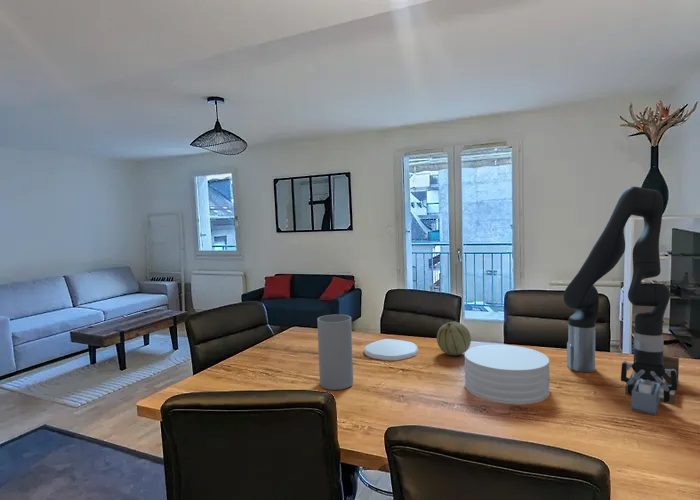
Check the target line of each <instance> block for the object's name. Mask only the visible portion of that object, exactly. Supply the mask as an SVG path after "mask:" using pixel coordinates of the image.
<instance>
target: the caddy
mask: <svg viewBox="0 0 700 500" xmlns="http://www.w3.org/2000/svg"><path fill="white" fill-rule="evenodd" d="M660 402H661V401H660V384H659V383H654V381H650V380H643V379H641V380H638V379H637V381H636V384H635V386H634V388H633V390H632V396H631V411H633V412H637V413H641V414H646V415H650V416H653V417H654V416H655V417H656V415H657V412H658V409H659V406H660Z"/></svg>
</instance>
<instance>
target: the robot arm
mask: <svg viewBox="0 0 700 500" xmlns="http://www.w3.org/2000/svg"><path fill="white" fill-rule="evenodd" d="M663 209H664V198H663V195H662V193H661V192H660V191H659V190H655V189H651V188H646V187H645V188H644V187H640V186H629V187H627V188H626V189H625V190H624V191H623V192H622V194H621V195H620V197H619V198H618V200H617V202H616V205H615V207H614V208H613V212H612V213H611V215H610V217H609V220H608V222H607V223H606V226H605V227H604V229H603V231H602V232H601V234H600V236H599V237H598V239H597V240H596V242H595V244H594V246H593V247H592V249H591V251H590V252H589V254H588V256H587V257H586V260H585V261H584V262H583V264H582V266H581V267H580V269H579V270H578V272H577V273H576V275H575V276H574V277H573V279H572V280H571V281H570V283H569V284H568V285H567V286H566V288H565V290H564V293H563V301H564V304H565V305H566V307H568V308H570V309H576V310H575V312H573V314H570V316H569V318H568V321H567V322H568V335H567V336H568V341H567V342H566V365H567V368H569V370H570V371H576V372H579V373H592V372H595V370H596V323H597V321H598V319H599V318H598V317H599V306H600V305H599V304H600V296H599V292H598V289H597V288H596V287H595V284H596V282H598V281H599V280H600V279H601V278H603V277H604V276H606V275H607V274H608V273H609V272H611V271H612V270H614V268H615V267H616V265H617V264H618V263H619V262H620V259H621V258H622V257H623V255H624V253H625V251H626V239H625V227H626V224H627V223H628V220H629V219H630V218H631V216H636V217H641V218H643V231H642V233H641V234H640V236H639V237H638V239H637V240H636V242H635V244H634V246H633V249H632V278H631V282H630V285H629V288H628V291H627V298H628V301H629V303H630V304H632V305H633V306H638V307H654V308H653V309H652V310H650V311H647V312H640V313H637V314H636V315H635V316H634V334H633V335H634V336H633V363H631V362H627V361H622V364H621V369H620V381H621V382H623V383H627V384H628V394H627V395H629V394H630V395H629V396H630V397H632V390H633V388H634V383H633V382H634V381H636V380H637V379H638V378H639V377H640V378H641V379H643V380H650V381H657V382H658V383H659V384H660V385H661V386H662V387H663V388H664V402H663V403H665V404H667V403H668V402H667V401H669V399H670V391H671V390H674V391H675V390H677V391H678V387H677V374H676V369H665V368H664V366H663V356H664V337H663V336H664V335H662V334H664V332H663V331H664V330H663V325H664V324H663V321H664V315H665V314H666V310H667V307H668V306H669V302H670V299H671V291H670V288H669V287H668V286H667V285H666V284H664V283H655V282H654V283H653V282H651V283H650V282H648V283H647V282H642V281H643V280H646V279H650V278H656V277H658V276H660V274H661V258H660V238H661V237H660V236H661V235H660V234H661V227H662V221H663V211H664V210H663ZM630 368H631V369H633V370H634V371H635V372H636V373H635V374H634V375H633V376H632V377H631V378H630V379H629V377H628V376H627V371H629V370H630ZM633 370H632V371H633ZM664 373H667V374H668V376H669V377H671V383H672V385H668V384H667V382H666V381H665V379H664V378H663V377H662V375H663V374H664Z"/></svg>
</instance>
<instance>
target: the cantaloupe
mask: <svg viewBox="0 0 700 500" xmlns="http://www.w3.org/2000/svg"><path fill="white" fill-rule="evenodd" d="M471 340H472V337H471V332H470V331H469V330H468V327H466V326H465V325H464V324H462V323H461V322H458V321H448V322H446V323H444V324H442V325H441V326H440V327H439V329H438V330H437V334H436V343H437V346H438V348H439V349H440V350H441V351H442V353H445V354H446V355H448V356H460V355H462V354H465V352H466V351H467V350H468V349H470V347H471V342H472V341H471Z"/></svg>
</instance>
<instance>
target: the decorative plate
mask: <svg viewBox="0 0 700 500" xmlns="http://www.w3.org/2000/svg"><path fill="white" fill-rule="evenodd" d="M363 353H364V355H366V356H367V357H369V358H371V359H374V360H375V359H376V360H382V361H401V360H406V359H410V358H413V357H415V356H417V354H418V353H419V347H418V346H417V344H415V343H413V342H412V341H408V340H407V341H406V340H402V339H393V338H384V339H380V340H376V341H374V342H373V341H372V342H370V343H368V344H367V345H366V346H364V349H363Z"/></svg>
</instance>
